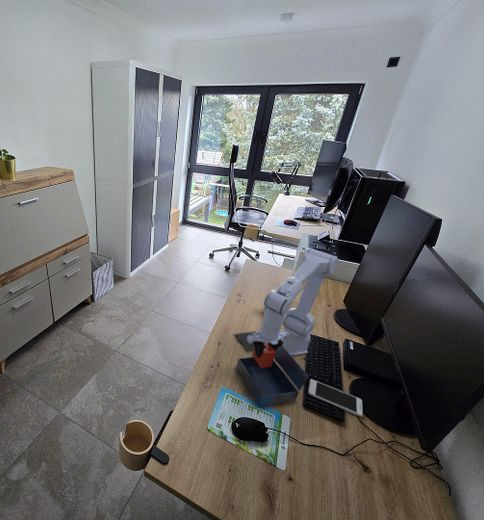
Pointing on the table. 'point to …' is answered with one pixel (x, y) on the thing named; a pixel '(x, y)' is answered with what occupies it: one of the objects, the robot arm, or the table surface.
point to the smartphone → (336, 397)
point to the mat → (245, 341)
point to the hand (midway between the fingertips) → (263, 354)
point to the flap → (291, 367)
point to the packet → (265, 356)
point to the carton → (266, 383)
